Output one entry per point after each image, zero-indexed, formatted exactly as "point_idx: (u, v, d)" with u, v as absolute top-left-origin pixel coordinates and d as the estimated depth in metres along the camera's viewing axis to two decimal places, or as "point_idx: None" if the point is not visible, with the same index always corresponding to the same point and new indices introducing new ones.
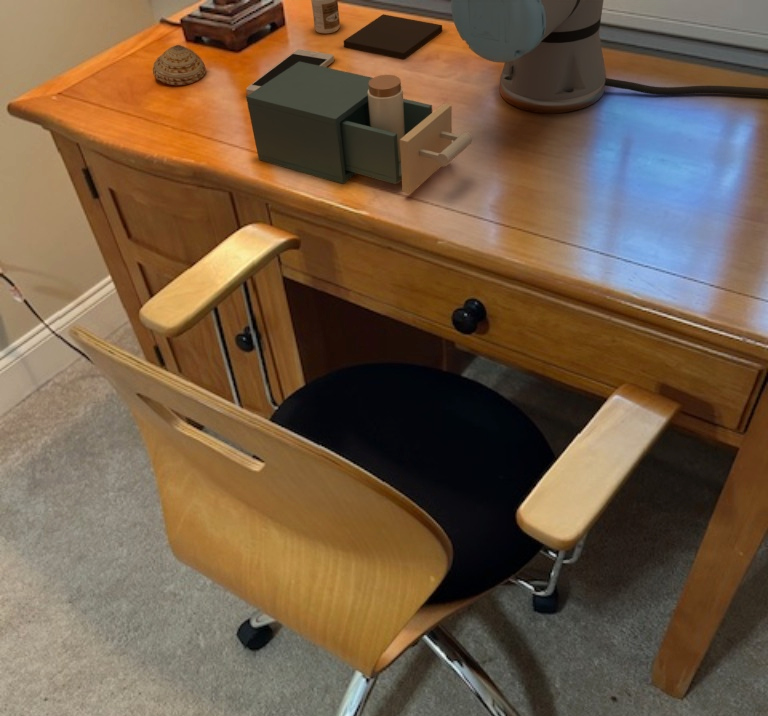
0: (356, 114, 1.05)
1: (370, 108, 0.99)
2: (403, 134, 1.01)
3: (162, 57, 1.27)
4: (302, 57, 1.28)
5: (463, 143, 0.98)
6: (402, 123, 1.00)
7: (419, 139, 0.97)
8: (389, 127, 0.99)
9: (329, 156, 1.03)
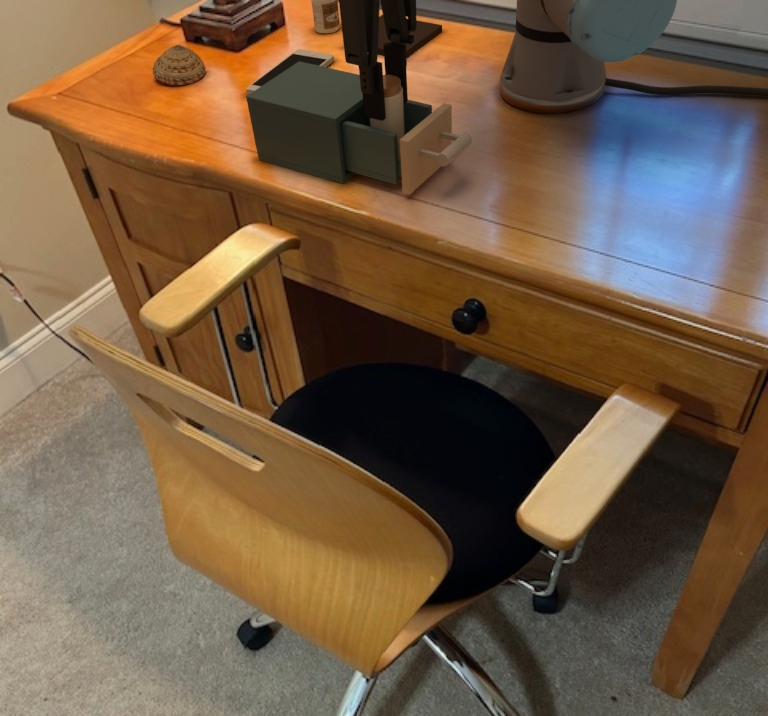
0: (356, 114, 1.05)
1: None
2: (403, 134, 1.01)
3: (162, 57, 1.27)
4: (302, 57, 1.28)
5: (463, 143, 0.98)
6: (402, 123, 1.00)
7: (419, 139, 0.97)
8: (389, 127, 0.99)
9: (329, 156, 1.03)
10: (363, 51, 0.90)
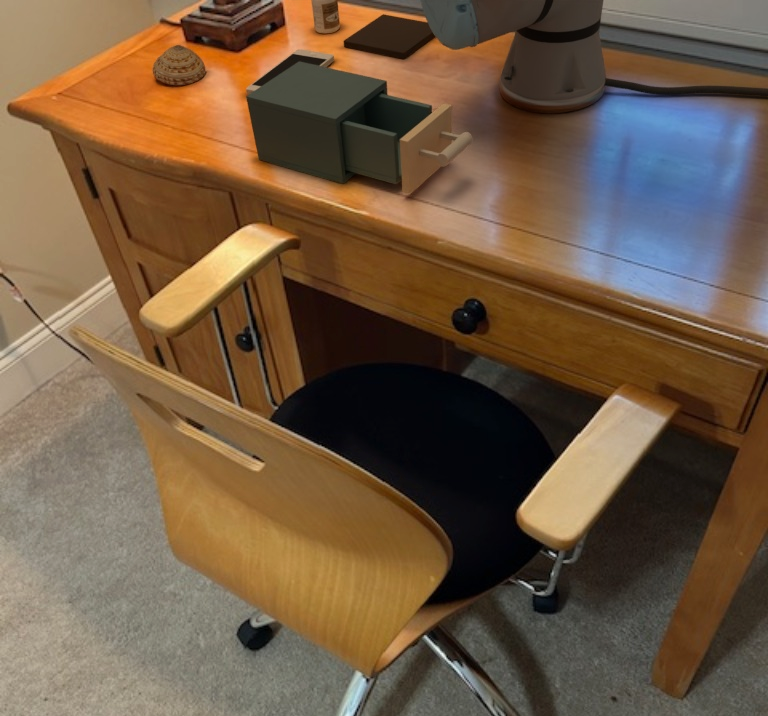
0: (356, 114, 1.05)
1: None
2: None
3: (162, 57, 1.27)
4: (302, 57, 1.28)
5: (463, 143, 0.98)
6: None
7: (419, 139, 0.97)
8: None
9: (329, 156, 1.03)
10: None
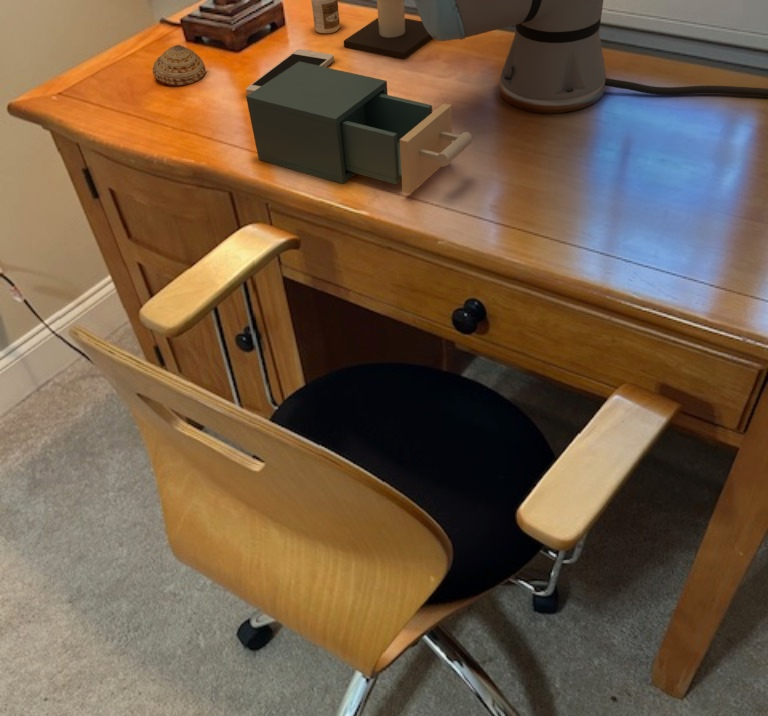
0: (356, 114, 1.05)
1: None
2: (403, 12, 1.29)
3: (162, 57, 1.27)
4: (302, 57, 1.28)
5: (463, 143, 0.98)
6: (402, 2, 1.27)
7: (419, 139, 0.97)
8: (392, 4, 1.27)
9: (329, 156, 1.03)
10: None
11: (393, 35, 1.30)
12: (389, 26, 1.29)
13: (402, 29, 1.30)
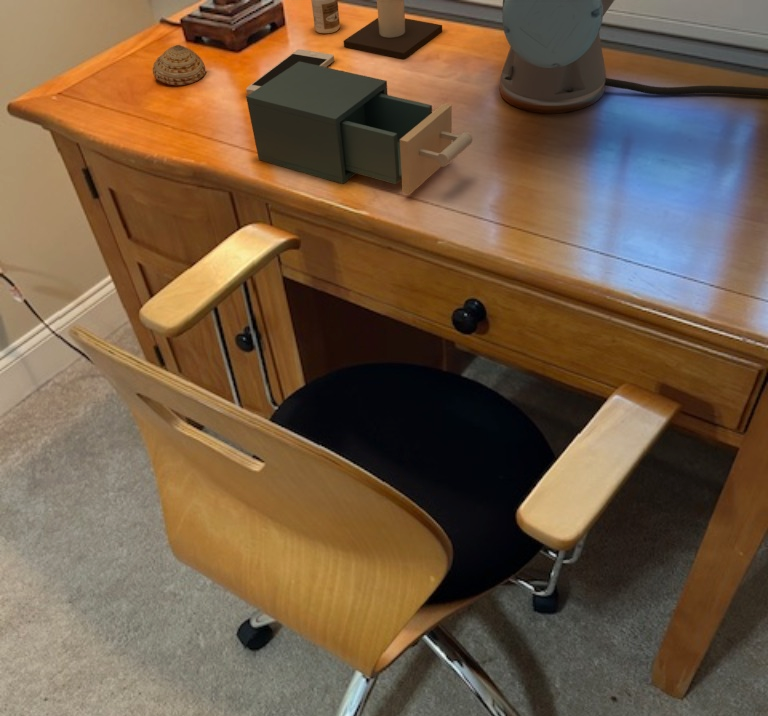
0: (356, 114, 1.05)
1: None
2: (403, 12, 1.29)
3: (162, 57, 1.27)
4: (302, 57, 1.28)
5: (463, 143, 0.98)
6: (402, 2, 1.27)
7: (419, 139, 0.97)
8: (392, 4, 1.27)
9: (329, 156, 1.03)
10: None
11: (393, 35, 1.30)
12: (389, 26, 1.29)
13: (402, 29, 1.30)
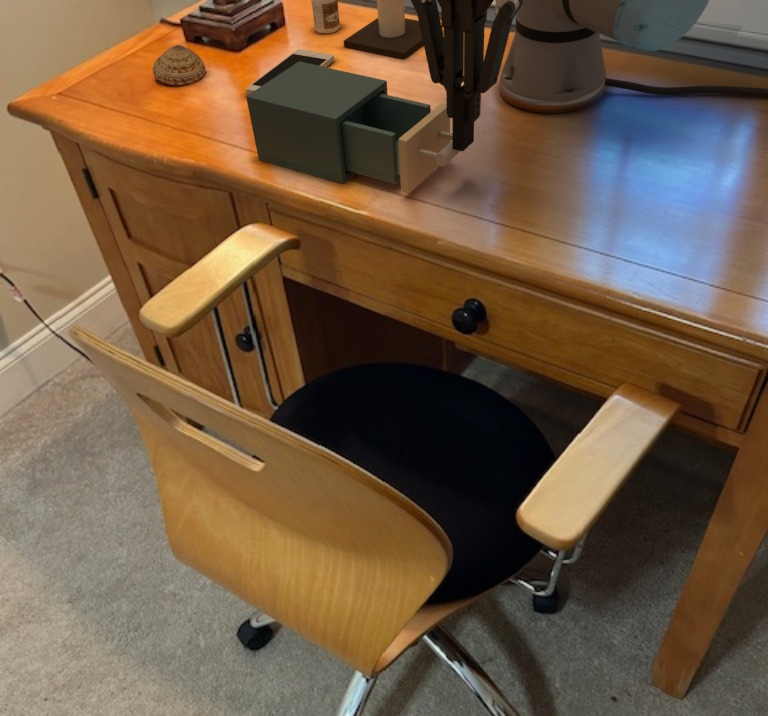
0: (355, 114, 1.05)
1: None
2: (403, 12, 1.29)
3: (162, 57, 1.27)
4: (302, 57, 1.28)
5: None
6: (402, 2, 1.27)
7: (418, 138, 0.97)
8: (392, 4, 1.27)
9: (329, 156, 1.03)
10: (431, 68, 0.91)
11: (393, 35, 1.30)
12: (389, 26, 1.29)
13: (402, 29, 1.30)
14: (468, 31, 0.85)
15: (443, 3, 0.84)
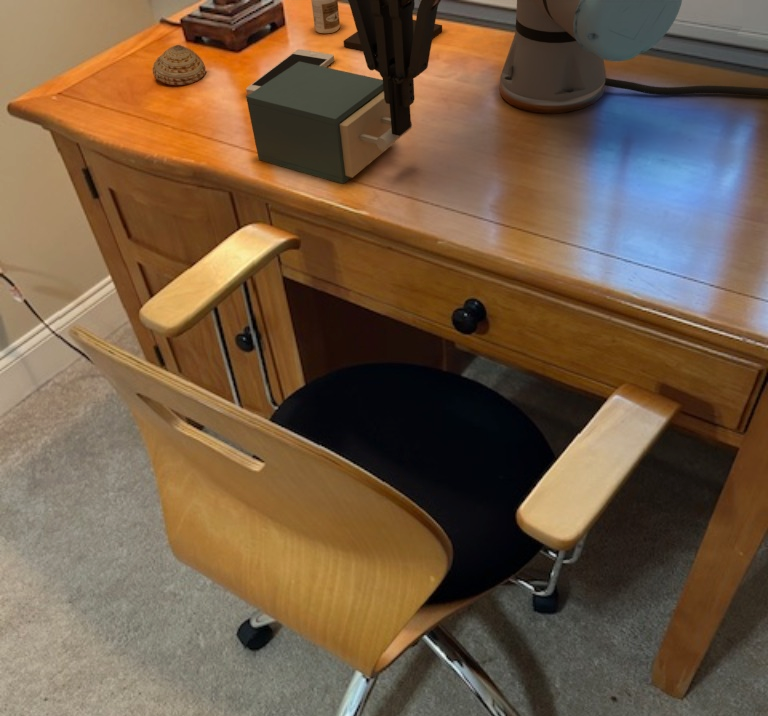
0: None
1: None
2: None
3: (162, 57, 1.27)
4: (302, 57, 1.28)
5: None
6: None
7: (359, 124, 1.00)
8: None
9: (329, 156, 1.03)
10: (366, 55, 0.95)
11: None
12: None
13: None
14: (396, 18, 0.89)
15: None
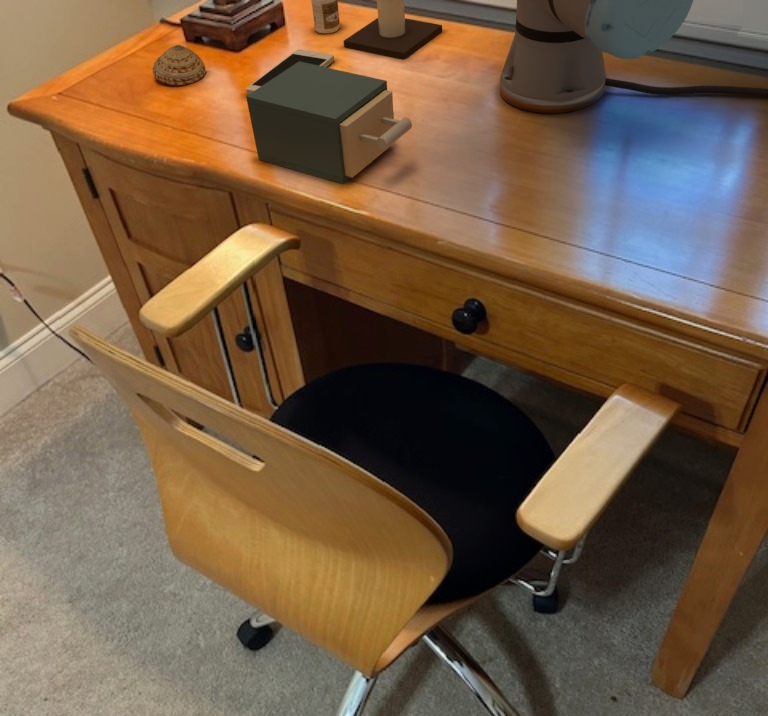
0: None
1: None
2: (403, 12, 1.29)
3: (162, 57, 1.27)
4: (302, 57, 1.28)
5: (402, 128, 1.02)
6: (402, 2, 1.27)
7: (359, 124, 1.00)
8: (392, 4, 1.27)
9: (329, 156, 1.03)
10: None
11: (393, 35, 1.30)
12: (389, 26, 1.29)
13: (402, 29, 1.30)
14: None
15: None
